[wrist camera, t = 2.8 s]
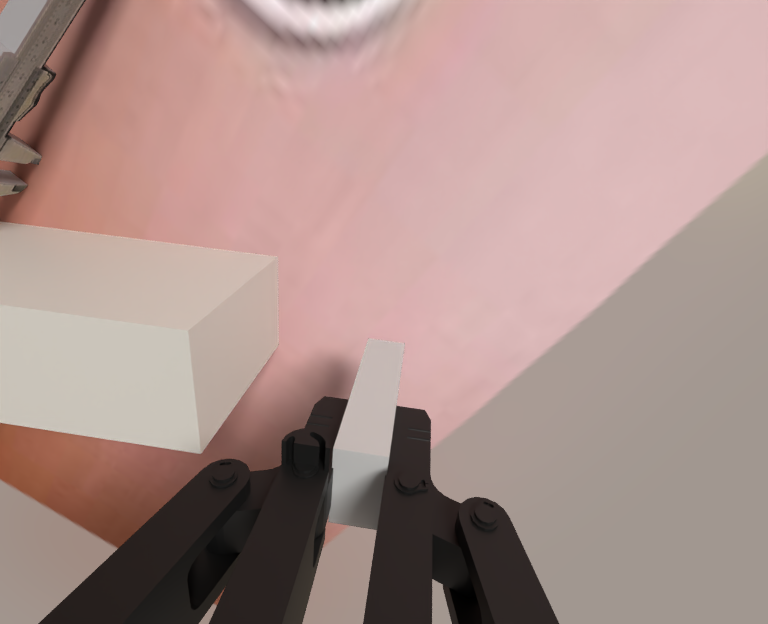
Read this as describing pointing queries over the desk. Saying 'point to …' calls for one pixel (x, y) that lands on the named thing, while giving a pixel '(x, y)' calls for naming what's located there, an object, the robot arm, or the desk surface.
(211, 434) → the plug
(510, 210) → the desk surface
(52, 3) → the caliper
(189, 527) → the robot arm
